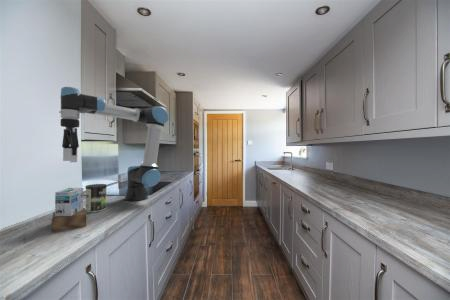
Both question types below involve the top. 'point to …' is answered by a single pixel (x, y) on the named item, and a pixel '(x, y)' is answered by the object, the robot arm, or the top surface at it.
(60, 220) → the block
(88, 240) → the top surface
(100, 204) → the coffee can
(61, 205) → the light bulb box
